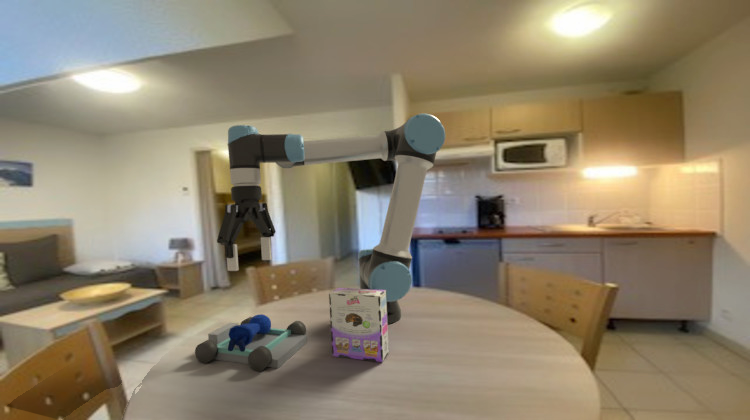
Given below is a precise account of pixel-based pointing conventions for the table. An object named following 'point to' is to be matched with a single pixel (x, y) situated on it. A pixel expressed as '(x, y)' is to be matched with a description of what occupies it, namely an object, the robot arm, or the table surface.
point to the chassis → (254, 346)
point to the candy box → (359, 323)
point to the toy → (248, 331)
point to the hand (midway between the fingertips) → (251, 264)
